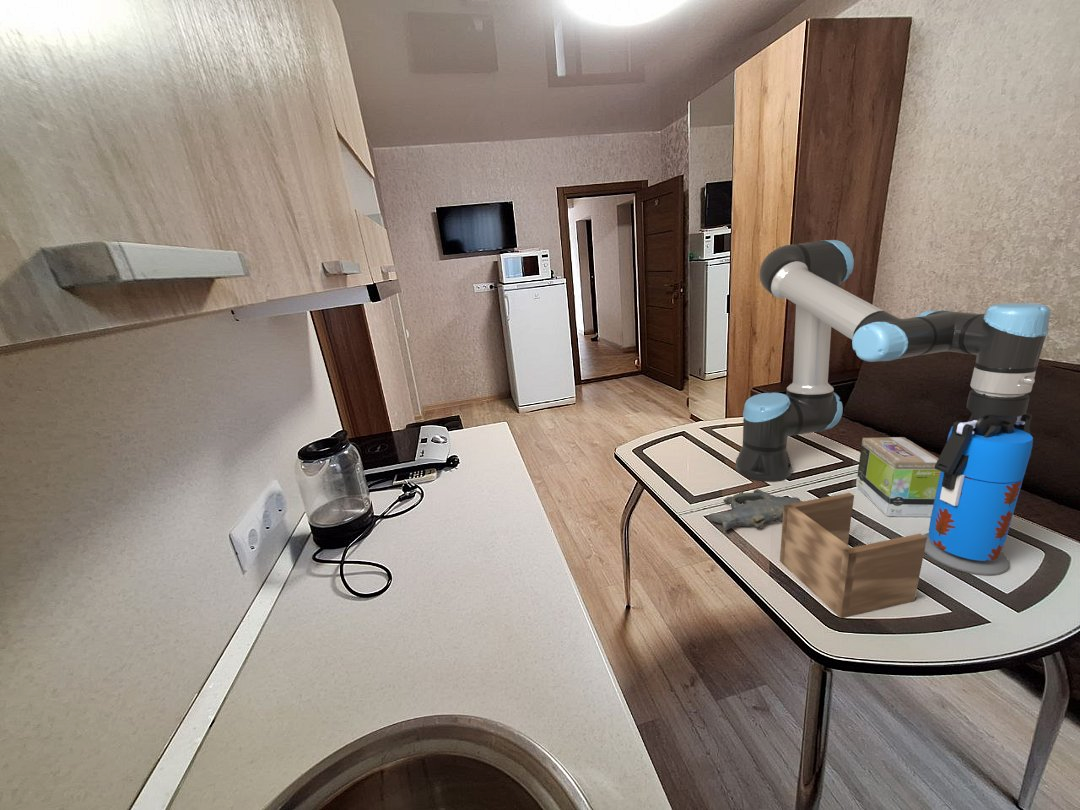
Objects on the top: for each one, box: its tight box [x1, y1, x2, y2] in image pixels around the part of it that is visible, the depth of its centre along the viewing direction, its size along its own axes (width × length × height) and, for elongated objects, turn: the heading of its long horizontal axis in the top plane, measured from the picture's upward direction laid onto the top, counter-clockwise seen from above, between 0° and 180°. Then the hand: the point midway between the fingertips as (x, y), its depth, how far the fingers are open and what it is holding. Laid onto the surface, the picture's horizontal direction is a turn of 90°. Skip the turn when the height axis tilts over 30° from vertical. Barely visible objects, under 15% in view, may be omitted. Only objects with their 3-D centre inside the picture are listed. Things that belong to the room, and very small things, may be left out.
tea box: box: [855, 436, 941, 518], centre depth 104 cm, size 15×10×15 cm, turn 169°
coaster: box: [923, 532, 1010, 577], centre depth 86 cm, size 13×13×1 cm
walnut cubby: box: [779, 492, 927, 619], centre depth 81 cm, size 16×15×14 cm
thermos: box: [928, 421, 1034, 561], centre depth 82 cm, size 11×11×25 cm
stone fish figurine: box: [709, 488, 803, 531], centre depth 107 cm, size 5×25×15 cm
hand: (974, 497), depth 82 cm, fingers closed on thermos, 11 cm apart
